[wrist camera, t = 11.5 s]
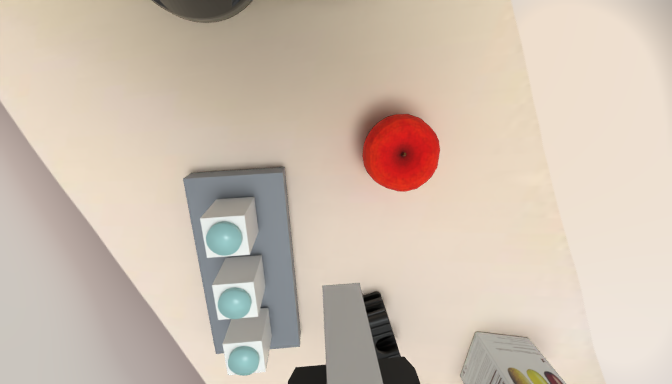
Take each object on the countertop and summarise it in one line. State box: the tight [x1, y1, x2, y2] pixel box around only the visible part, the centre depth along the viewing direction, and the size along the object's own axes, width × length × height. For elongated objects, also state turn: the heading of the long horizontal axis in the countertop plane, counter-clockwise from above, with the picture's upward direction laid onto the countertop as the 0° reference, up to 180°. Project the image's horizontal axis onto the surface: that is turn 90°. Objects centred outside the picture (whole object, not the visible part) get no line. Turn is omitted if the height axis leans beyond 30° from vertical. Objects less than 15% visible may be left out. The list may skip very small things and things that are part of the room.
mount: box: [183, 167, 300, 354], centre depth 45 cm, size 26×12×8 cm, turn 3°
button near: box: [200, 197, 258, 258], centre depth 40 cm, size 5×5×7 cm
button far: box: [223, 308, 272, 375], centre depth 44 cm, size 5×5×7 cm
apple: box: [363, 114, 440, 191], centre depth 41 cm, size 9×9×8 cm
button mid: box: [212, 255, 265, 320], centre depth 42 cm, size 5×5×7 cm
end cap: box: [363, 292, 401, 359], centre depth 50 cm, size 10×7×7 cm
